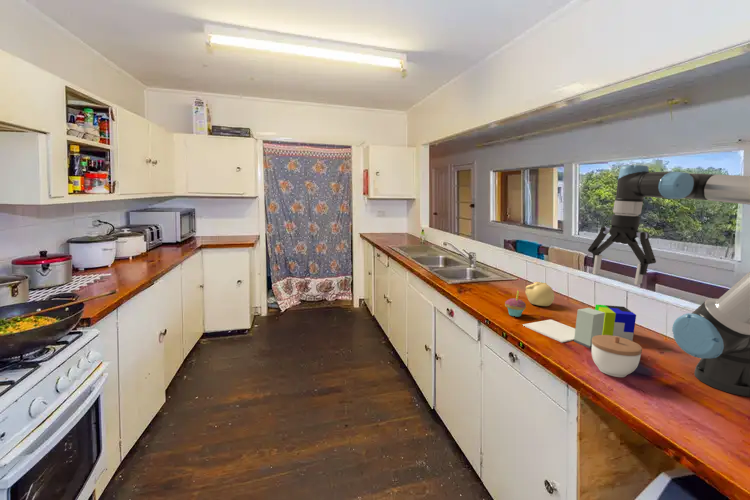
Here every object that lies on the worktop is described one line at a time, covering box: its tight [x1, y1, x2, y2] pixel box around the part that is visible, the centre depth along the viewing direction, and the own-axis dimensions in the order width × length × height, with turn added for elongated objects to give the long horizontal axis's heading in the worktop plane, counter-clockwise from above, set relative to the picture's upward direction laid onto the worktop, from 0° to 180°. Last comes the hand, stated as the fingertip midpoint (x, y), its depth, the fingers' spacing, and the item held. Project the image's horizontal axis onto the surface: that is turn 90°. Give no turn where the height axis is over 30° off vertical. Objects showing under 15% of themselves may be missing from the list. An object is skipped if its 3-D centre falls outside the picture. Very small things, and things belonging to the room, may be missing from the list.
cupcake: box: [504, 289, 527, 318], centre depth 162 cm, size 9×8×12 cm
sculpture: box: [525, 281, 555, 307], centre depth 178 cm, size 11×12×11 cm
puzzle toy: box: [594, 304, 637, 342], centre depth 143 cm, size 10×10×10 cm
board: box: [522, 318, 576, 343], centre depth 146 cm, size 18×16×1 cm
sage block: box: [573, 307, 605, 349], centre depth 133 cm, size 6×6×12 cm
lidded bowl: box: [590, 335, 643, 378], centre depth 113 cm, size 13×13×11 cm
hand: (615, 278), depth 125 cm, fingers open, 13 cm apart
